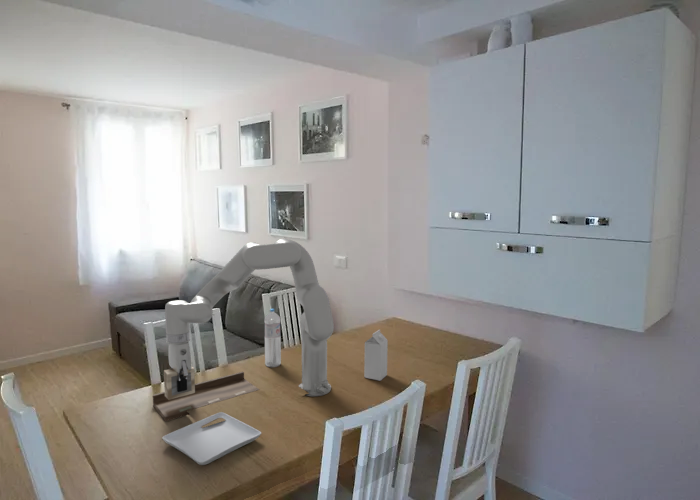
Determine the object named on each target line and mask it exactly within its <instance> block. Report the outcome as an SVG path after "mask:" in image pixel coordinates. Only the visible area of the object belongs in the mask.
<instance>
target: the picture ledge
mask: <svg viewBox="0 0 700 500" xmlns="http://www.w3.org/2000/svg"><path fill="white" fill-rule="evenodd" d="M256 391H260V389H259V388H258V387H257V386H255V385H254V384H252V382H250V381H248V380H247V379H246V378H245V372H244V371H240V372H236V373H232V374H229V375H228V374H227V375H224V376H221V377H217V378H213V379H212V378H211V379H209V380H206V381H202V382H197V383H195V393H193V394H189V395H185V396H181V397H178V398H174V399H170V400H168V399H167V398H166V397H165V391H162V392H160V393H154V394H152V404H153V405H152V407H154V408H155V410H156V411H157V412H158V414H159V415H160V416H161V418H162V419H163V420H164V422H169V421H172V420H175V419H178V418H182V417H185V416H189V415H190V412H188V411H191V410H195V409H198V408H201V407H206V406H209V405H211V404H212V405H213V404H216V403H219V402H222V401H226V400H229V399H232V398H236V397H239V396H242V395H245V394H249V393H253V392H256Z"/></svg>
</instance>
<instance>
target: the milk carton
mask: <svg viewBox="0 0 700 500" xmlns="http://www.w3.org/2000/svg"><path fill="white" fill-rule="evenodd" d="M388 342H389V341H388V339H387V338H386V336H385V335H384V334H383V333H382V332H381V329H378V330H377V331H374V332H373V333H372V335H371V337H370V338H369V339H367V340H366V341H365V342H364V369H363V370H364V371H363V373H364V374H363V375H364V379H370V380H374V381H382V380H383V379H384V378H386V376H387V375H388Z"/></svg>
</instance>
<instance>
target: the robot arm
mask: <svg viewBox="0 0 700 500" xmlns="http://www.w3.org/2000/svg"><path fill="white" fill-rule="evenodd" d="M279 268H289V269H290V271H291V274H292V277H293V282H294V287H295V293H296V299H297V301H298V303H299V304H300V305H301V306H302V308H303V312H302V314H301V317H300V321H299V323H300V324H299V325H300V335H301V383H300V384H299V385H298V386H297V387H299V388H300V389H301V390H304V391H306V393H307V394H304V396H306V397H321V396H324V395H327V394H328V393H330V392H331V391H332V390H331V389H332V386H331V384H330V383H329V381H328V339H330V338H331V336H332V335H333V332H334V328H335V327H334V326H335V325H334V319H333V314H332V308H331V303H330V298H329V295H328V293H327V291H326V290H325V289H324V287H322V286H321V285H320V283H319V280H318V275H317V272H316V268H315V265H314V261H313V259H312V257H311V254H310V253H309V252H308V250H307V249H306V248H305V247H304V246H302V244H300V243H299V242H297V241H295V240H291V239H288V238H280V239H278V240H276V241H275V242H274V243H268V244H267V243H266V244H259V243H258V242H254V241H251V242H248V243H246V244H245V245H243V246H242V247H241V249H240V250H239V251H238V252H236V254H235V255H234V256H233V257H232V258H231V259H230V260H229V261H228V263H226V264H225V266H223V268H222V269H220V271H218V272H217V274H215V275H214V277H213V278H211V279H210V280H209V281H208V282H207V283H206V284H205V285H204V286H203V287H202V288H201V289H200V290H199V291H198V292H197V293H196V295H195V296H194V297H193V298H192V299H191V301H190V303H189V302H187V301H186V300H183V299H182V300H180V299H179V300H178V299H175V300H170V301H168V302H167V303H165V307H164V308H165V309H164V311H165V313H164V315H165V338H166V339H165V340H166V341H165V342H166V344H167V345H168V351H167V353H168V356H167V357H168V364H169V367H171V368H170V369H174V370H175V371H176V372H177V376H178V380H177V391H178V392H181V391H185V390H187V376H188V372H187V369H188V370H191V369H192V367H193V366H192V356H191V354H192V353H191V349H190V347H191V346H190V342H191V341H190V340H191V334H190V333H191V331H190V330H191V329H190V324H205V323H207V322H209V321H210V320H211V319H212V317H213V315H214V313H213V312H214V310H213V308H214V306H215V305H217V303H218V302H219V301H220V300H221V299H222V298H223V297H224V296H225V295H227V294H228V293H230V292H233V291H235V290H238V288H240V287H241V286H242V284H243V283H244V282H245V281H246V280H248V278H249V277H250V276H251V274H253V272H254V271H255V270H258V271H259V270H270V269H279ZM191 366H192V367H191ZM181 369H182V371H180V370H181ZM180 373H183V374H181V376H180Z"/></svg>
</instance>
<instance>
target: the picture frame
mask: <svg viewBox="0 0 700 500" xmlns="http://www.w3.org/2000/svg"><path fill="white" fill-rule="evenodd" d="M191 367H192V369H191V370H188V369H187V372H188V376H187V390H185V391H181V392H178V391H177V380H178V376H177V372H176V371H175V370H174V369H172V368H169V369H164V370H163V383H164V385H163V387H164V388H163V390H164V392H165V397H166V398H167V399H168V400H170V399H174V398H178V397H181V396H185V395H189V394H193V393H195V384H196V380H195V379H196V378H195V367H193V366H192V365H191ZM180 371H182V369H181V370H180ZM181 374H183V373H180V376H181Z"/></svg>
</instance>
